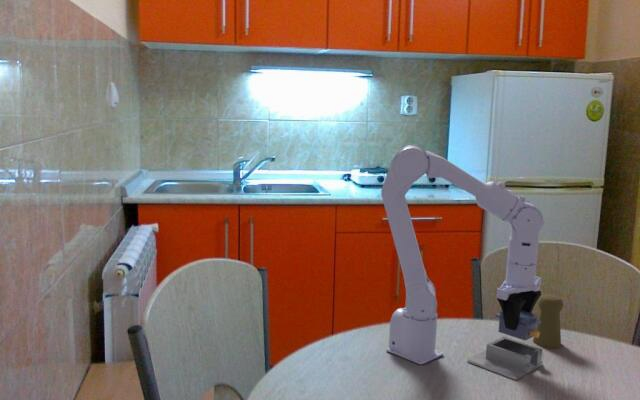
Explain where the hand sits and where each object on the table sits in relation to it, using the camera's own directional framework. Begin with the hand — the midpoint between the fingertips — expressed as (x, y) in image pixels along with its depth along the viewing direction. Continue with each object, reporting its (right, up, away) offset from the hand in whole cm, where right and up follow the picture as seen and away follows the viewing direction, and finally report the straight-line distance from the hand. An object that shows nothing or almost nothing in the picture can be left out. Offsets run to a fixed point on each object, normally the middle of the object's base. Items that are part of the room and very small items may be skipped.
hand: (516, 326), depth 126 cm
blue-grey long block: (0, -2, 0) cm, 2 cm away
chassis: (-2, -8, +1) cm, 8 cm away
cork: (+11, -7, +13) cm, 18 cm away
